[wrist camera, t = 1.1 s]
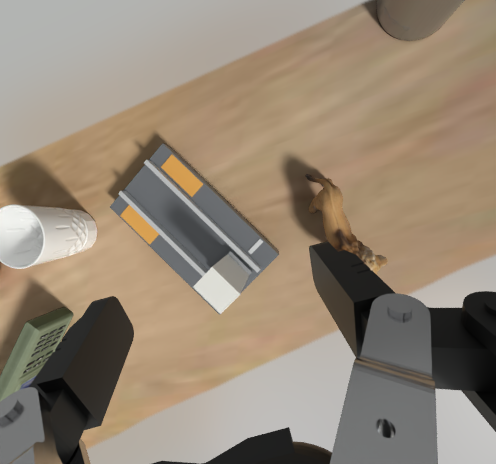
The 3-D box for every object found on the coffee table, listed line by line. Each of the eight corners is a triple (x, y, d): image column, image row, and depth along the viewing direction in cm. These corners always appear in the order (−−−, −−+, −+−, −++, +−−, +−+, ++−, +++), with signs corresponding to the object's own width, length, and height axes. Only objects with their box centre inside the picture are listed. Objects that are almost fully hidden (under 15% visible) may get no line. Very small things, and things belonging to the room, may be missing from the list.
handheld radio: (78, 314, 43) (20, 428, 46) (62, 303, 43) (6, 417, 47) (40, 332, 36) (-24, 463, 40) (22, 319, 37) (-40, 450, 40)
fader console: (171, 148, 38) (157, 140, 34) (278, 251, 38) (278, 256, 33) (122, 207, 40) (102, 206, 36) (223, 306, 39) (216, 318, 35)
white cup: (85, 264, 42) (25, 281, 32) (48, 235, 42) (-23, 243, 32) (110, 225, 41) (55, 230, 31) (71, 196, 41) (5, 191, 31)
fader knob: (231, 250, 35) (215, 263, 26) (252, 270, 35) (243, 290, 26) (212, 270, 36) (189, 290, 27) (233, 290, 36) (217, 317, 27)
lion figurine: (372, 257, 36) (401, 273, 27) (337, 275, 37) (355, 295, 28) (321, 166, 36) (335, 151, 27) (287, 185, 37) (290, 177, 28)
